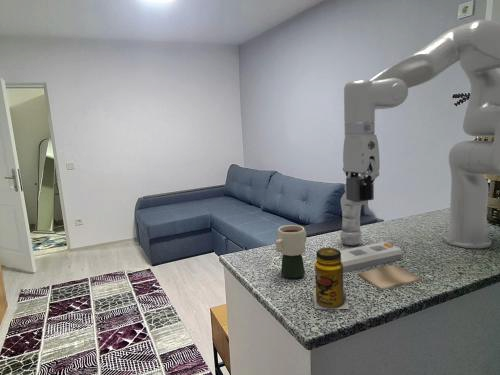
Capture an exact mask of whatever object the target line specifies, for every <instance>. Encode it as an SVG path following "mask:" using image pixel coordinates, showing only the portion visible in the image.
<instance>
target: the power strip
mask: <svg viewBox="0 0 500 375" xmlns="http://www.w3.org/2000/svg"><path fill="white" fill-rule="evenodd" d="M339 251H340V252H341V262H342V264H343V273H347V272H351V271H354V270H359V269H364V268H369V267H372V266H377V265H383V264H386V263H390V262H395V261H399V260H402V248H400V247H397V246H395V245H393V244H392V243H388V242H386V241H381V242H378V243H372V244H367V245H361V246H356V247H352V248H348V249H343V250H339Z"/></svg>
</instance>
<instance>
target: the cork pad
mask: <svg viewBox="0 0 500 375" xmlns="http://www.w3.org/2000/svg"><path fill="white" fill-rule="evenodd" d="M357 276H358V277H360V278H362V279H363V280H365V281H366V282H368V283H369V284H370V285H373V286H374V287H376V288H377V289H379V290H381V291H383V290H388V289H393V288H395V287H400V286H403V285H407V284H412V283H414V282H419V281H422V277H420V276H418V275H416V274H415V273H412V272H411V271H408V270H406V269H404V268H402V267H400V266H399V265H396V264H392V265H388V266H383V267H378V268H375V269H370V270H366V271H362V272H357Z"/></svg>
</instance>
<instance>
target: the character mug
mask: <svg viewBox="0 0 500 375" xmlns="http://www.w3.org/2000/svg"><path fill="white" fill-rule="evenodd" d="M306 242H307V232H306V230H305V227H304V226H302V225H297V224H289V225H287V224H286V225H281V226H279V227H278V228H277V239H276V241H275V250H276V252H277V253H280V254H282V257H281V259H282V260H281V267H280V268H281V270H280V272H281V275H282V276H284V277H288V278H295V279H296V278H301V277H303V276H304V275H305V273H306V272H305V265H304V260H303V256H302V255H303V254H305V252H306Z"/></svg>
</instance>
